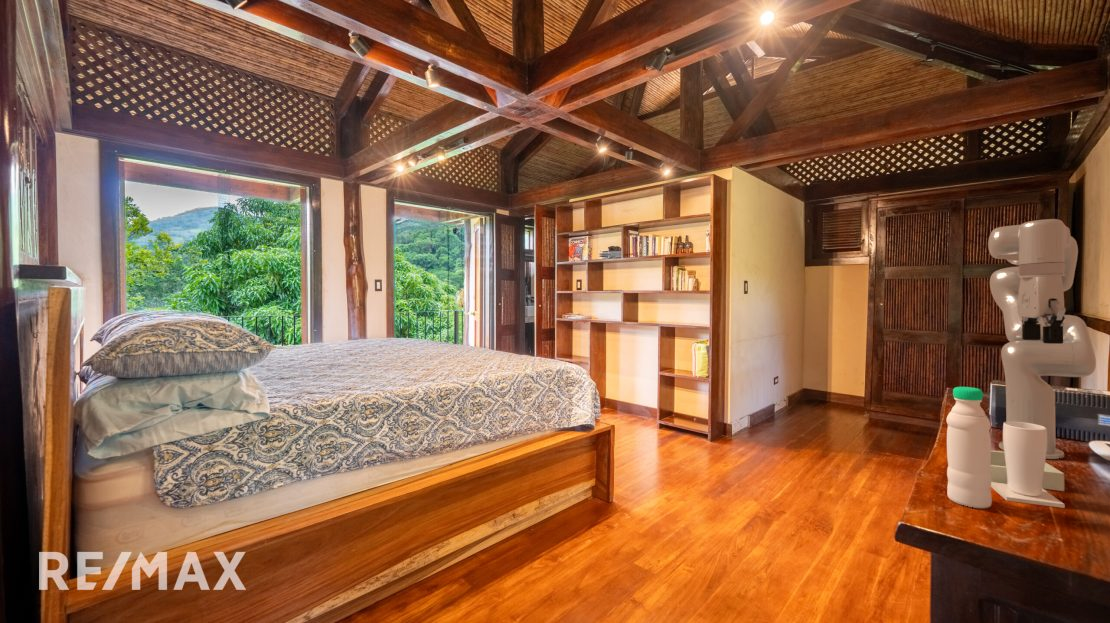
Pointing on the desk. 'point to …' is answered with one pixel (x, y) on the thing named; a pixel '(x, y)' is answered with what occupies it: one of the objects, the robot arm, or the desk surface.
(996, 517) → the desk surface
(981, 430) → the water bottle
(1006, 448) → the drinking glass
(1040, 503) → the ceramic tile
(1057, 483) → the beige square frame
